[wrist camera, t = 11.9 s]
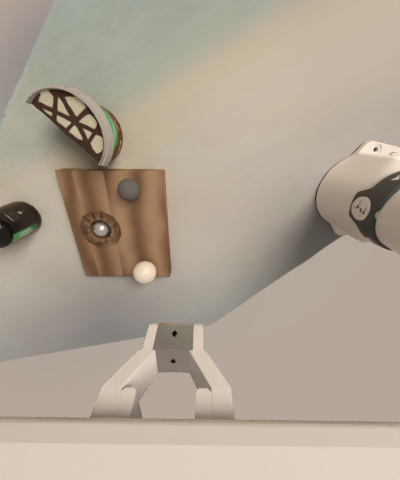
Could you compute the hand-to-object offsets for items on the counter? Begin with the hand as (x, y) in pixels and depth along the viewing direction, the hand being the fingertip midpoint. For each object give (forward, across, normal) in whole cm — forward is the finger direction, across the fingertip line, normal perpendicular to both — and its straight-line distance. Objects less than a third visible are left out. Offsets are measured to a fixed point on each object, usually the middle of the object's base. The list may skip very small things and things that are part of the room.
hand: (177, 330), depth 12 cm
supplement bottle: (+34, +37, +6) cm, 51 cm away
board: (+34, +16, +8) cm, 38 cm away
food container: (+34, +16, -12) cm, 40 cm away
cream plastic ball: (+29, +11, +17) cm, 35 cm away
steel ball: (+32, +20, +8) cm, 39 cm away
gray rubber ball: (+30, +12, -1) cm, 32 cm away
